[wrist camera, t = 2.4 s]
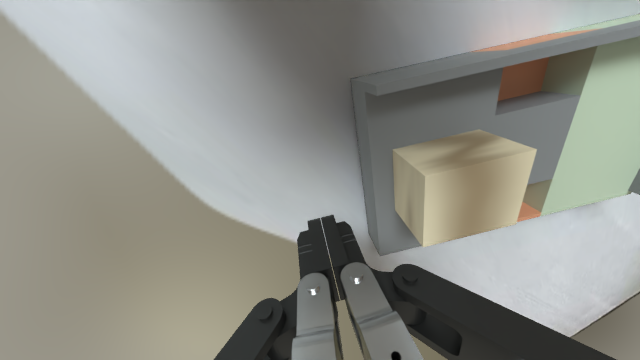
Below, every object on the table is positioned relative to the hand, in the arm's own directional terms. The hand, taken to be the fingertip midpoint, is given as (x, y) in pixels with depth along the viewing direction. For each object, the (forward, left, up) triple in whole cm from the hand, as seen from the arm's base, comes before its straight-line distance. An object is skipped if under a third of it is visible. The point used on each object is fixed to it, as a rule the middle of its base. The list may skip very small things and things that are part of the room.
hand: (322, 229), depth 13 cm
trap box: (-16, 0, -6) cm, 17 cm away
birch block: (-9, 0, -3) cm, 9 cm away
